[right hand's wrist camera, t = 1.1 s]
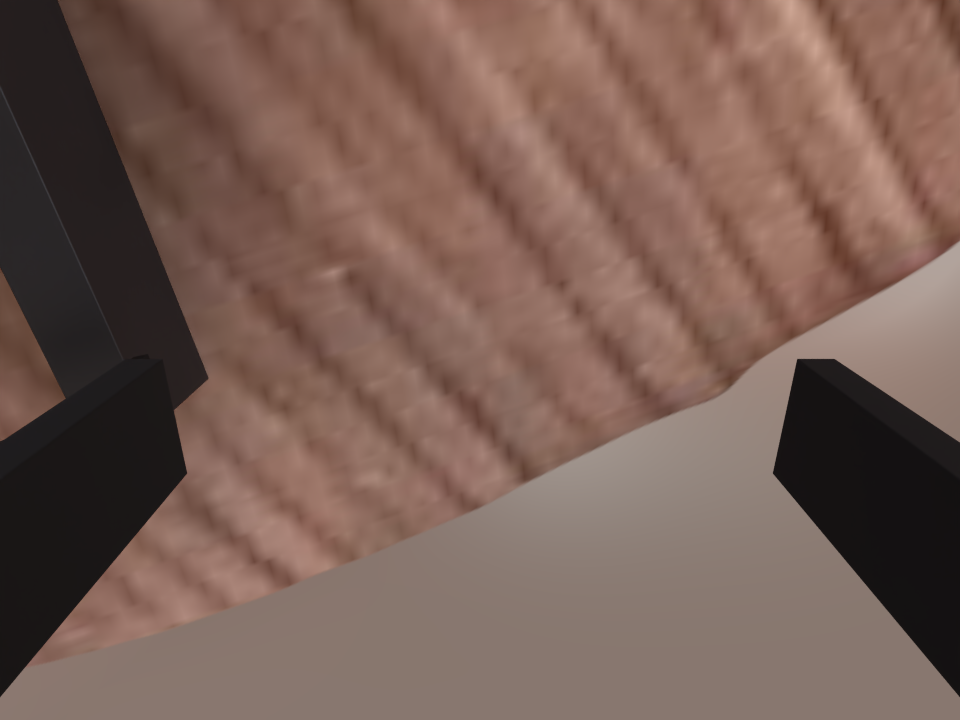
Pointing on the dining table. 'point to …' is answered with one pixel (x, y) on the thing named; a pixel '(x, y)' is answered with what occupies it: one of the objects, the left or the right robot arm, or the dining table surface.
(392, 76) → the dining table surface
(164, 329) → the bar
